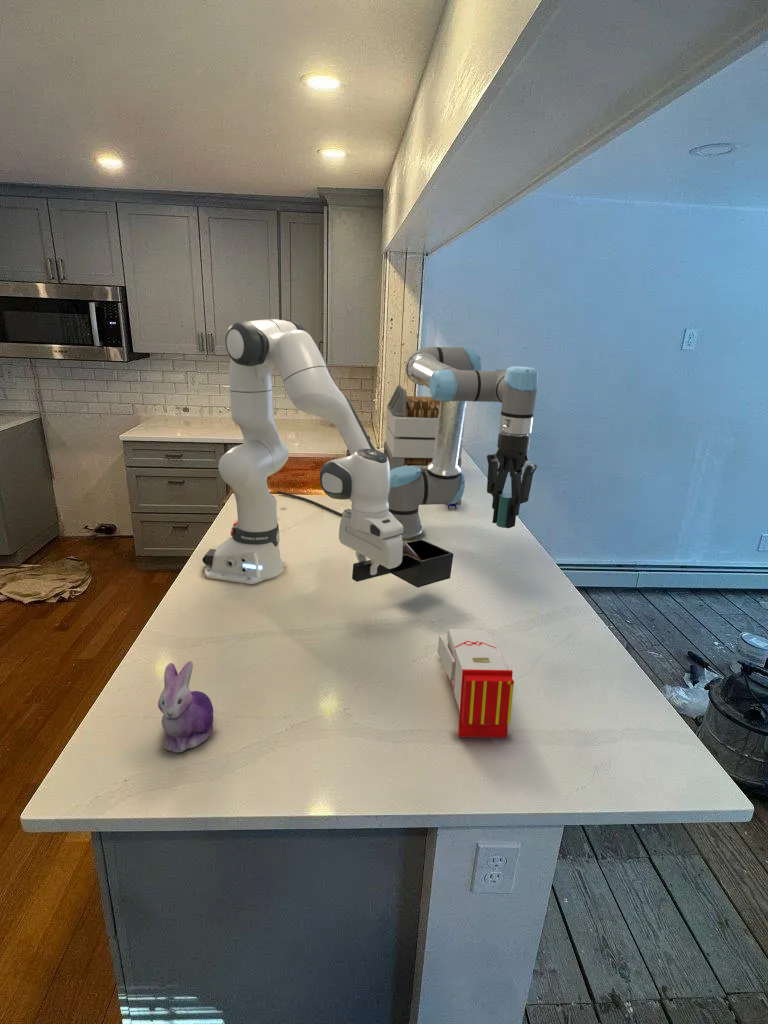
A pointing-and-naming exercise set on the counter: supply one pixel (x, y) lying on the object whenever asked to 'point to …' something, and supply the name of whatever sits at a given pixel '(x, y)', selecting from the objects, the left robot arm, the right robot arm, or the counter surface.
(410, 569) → the black box with handle
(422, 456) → the white slatted crate
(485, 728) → the toy
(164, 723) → the figurine
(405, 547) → the walnut peg
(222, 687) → the counter surface
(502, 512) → the teal peg
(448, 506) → the figurine character
